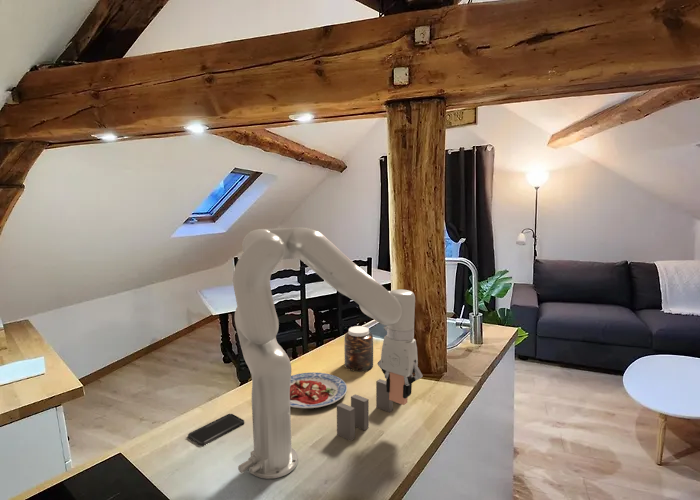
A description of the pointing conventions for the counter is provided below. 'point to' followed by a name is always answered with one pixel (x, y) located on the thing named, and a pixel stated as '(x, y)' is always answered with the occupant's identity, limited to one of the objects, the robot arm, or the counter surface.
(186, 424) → the counter surface
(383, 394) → the domino
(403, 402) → the terracotta domino
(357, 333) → the jar
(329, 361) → the counter surface
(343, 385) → the ceramic plate
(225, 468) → the counter surface
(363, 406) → the domino
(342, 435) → the domino
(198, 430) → the phone
